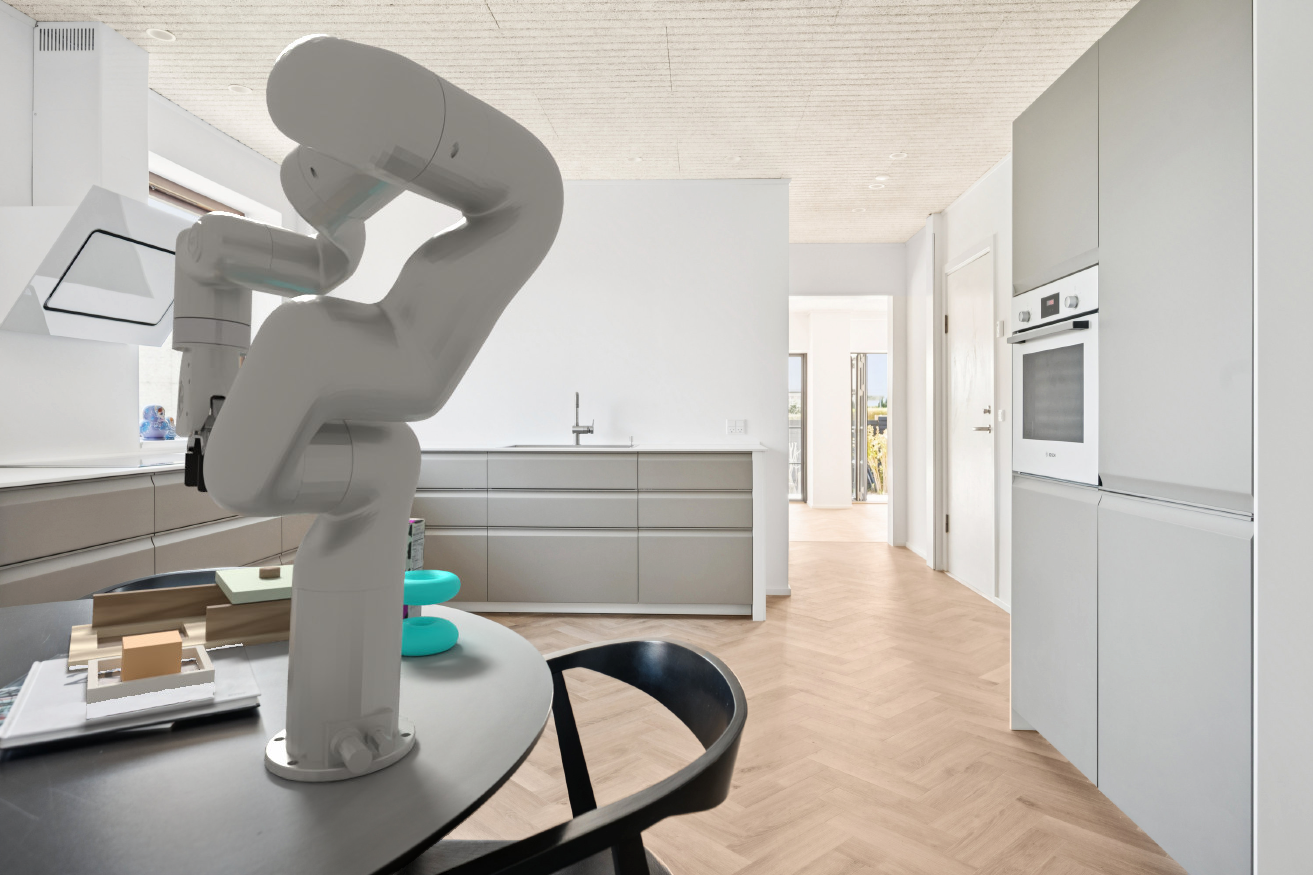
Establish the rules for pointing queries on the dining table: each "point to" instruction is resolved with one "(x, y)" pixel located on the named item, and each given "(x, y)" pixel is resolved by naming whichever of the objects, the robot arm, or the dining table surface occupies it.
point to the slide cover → (256, 583)
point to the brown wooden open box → (177, 620)
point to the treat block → (151, 655)
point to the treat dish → (147, 684)
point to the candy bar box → (414, 557)
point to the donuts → (425, 630)
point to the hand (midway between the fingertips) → (207, 488)
